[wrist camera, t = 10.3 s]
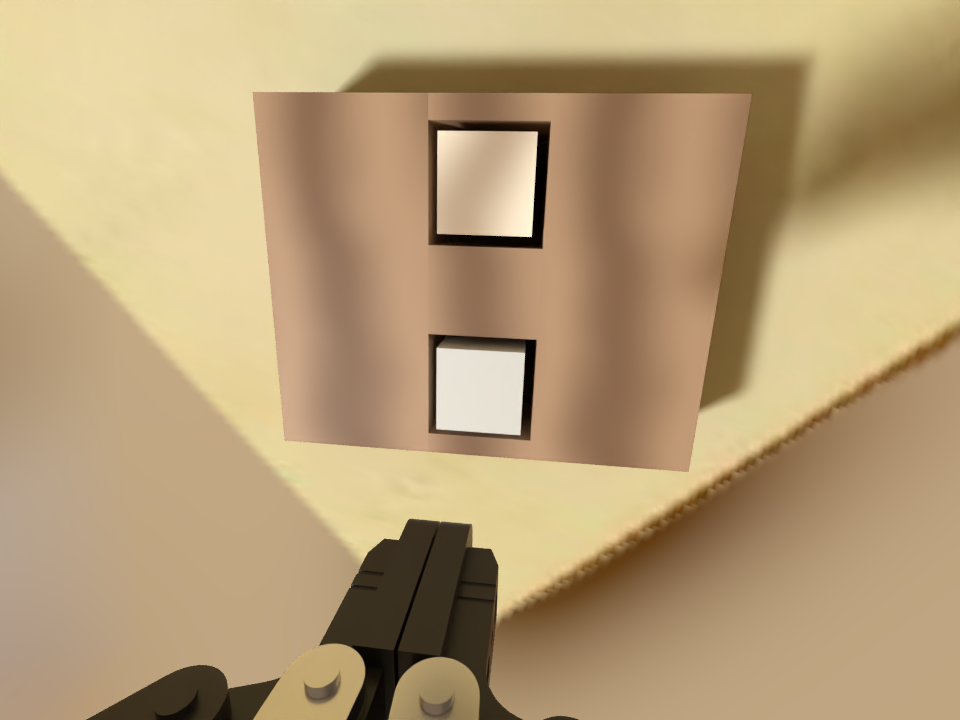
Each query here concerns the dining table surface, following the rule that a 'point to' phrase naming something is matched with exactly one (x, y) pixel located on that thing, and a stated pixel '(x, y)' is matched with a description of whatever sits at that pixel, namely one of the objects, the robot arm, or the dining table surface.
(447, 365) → the peg
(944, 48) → the dining table surface
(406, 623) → the robot arm
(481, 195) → the peg
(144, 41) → the dining table surface
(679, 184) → the socket board
